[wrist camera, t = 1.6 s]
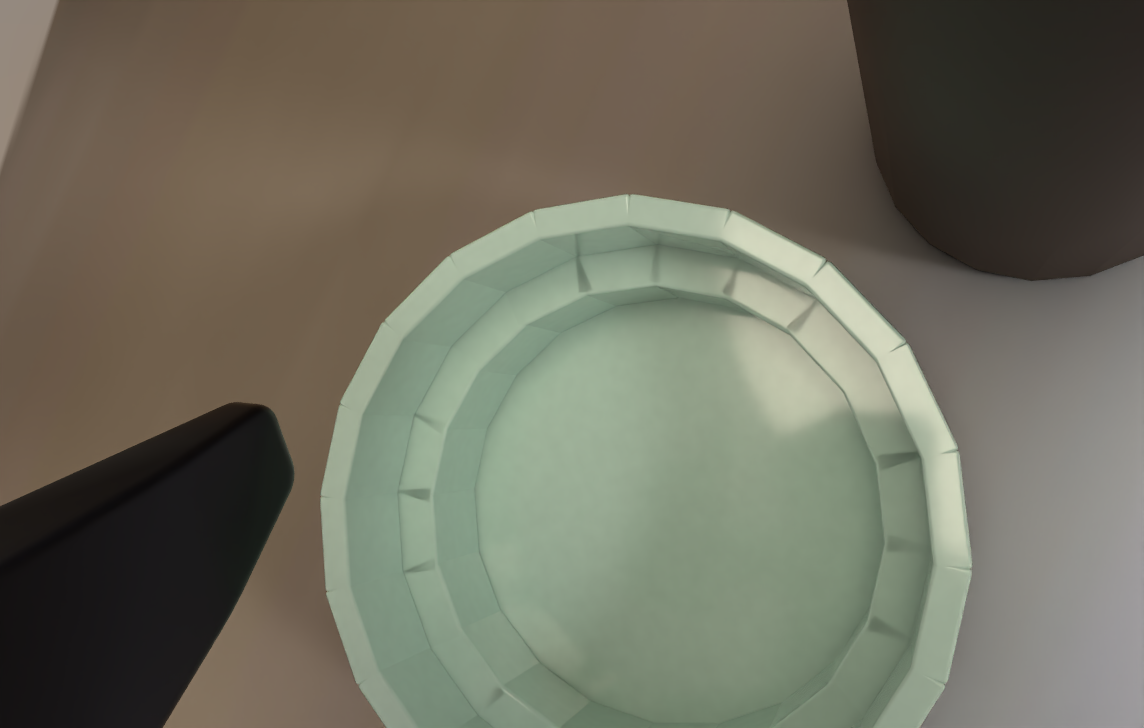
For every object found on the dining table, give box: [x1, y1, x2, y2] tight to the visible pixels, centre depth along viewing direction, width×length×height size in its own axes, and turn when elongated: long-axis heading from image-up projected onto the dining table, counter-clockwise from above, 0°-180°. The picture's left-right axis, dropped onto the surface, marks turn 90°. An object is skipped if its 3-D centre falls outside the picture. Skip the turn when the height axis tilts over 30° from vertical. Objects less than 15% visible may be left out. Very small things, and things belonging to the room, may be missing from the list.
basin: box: [320, 194, 973, 728], centre depth 20 cm, size 12×12×5 cm
